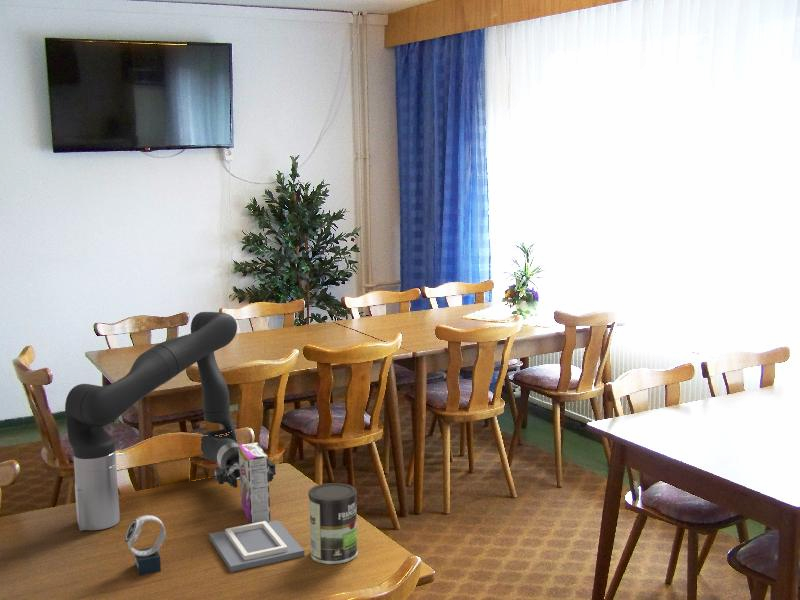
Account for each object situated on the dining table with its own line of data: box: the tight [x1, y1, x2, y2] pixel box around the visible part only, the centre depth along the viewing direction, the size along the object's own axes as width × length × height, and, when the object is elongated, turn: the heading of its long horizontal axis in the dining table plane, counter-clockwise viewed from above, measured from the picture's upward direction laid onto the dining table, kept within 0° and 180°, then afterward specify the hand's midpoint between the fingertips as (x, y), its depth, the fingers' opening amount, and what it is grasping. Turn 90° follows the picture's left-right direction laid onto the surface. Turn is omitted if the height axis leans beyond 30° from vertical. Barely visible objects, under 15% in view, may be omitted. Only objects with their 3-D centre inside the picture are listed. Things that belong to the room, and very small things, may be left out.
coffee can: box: [307, 482, 359, 565], centre depth 180 cm, size 10×10×14 cm
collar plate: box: [209, 519, 305, 573], centre depth 184 cm, size 16×18×2 cm
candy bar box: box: [238, 442, 271, 524], centre depth 200 cm, size 11×5×16 cm, turn 23°
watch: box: [124, 514, 167, 576], centre depth 174 cm, size 6×8×11 cm
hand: (253, 480), depth 201 cm, fingers open, 8 cm apart
